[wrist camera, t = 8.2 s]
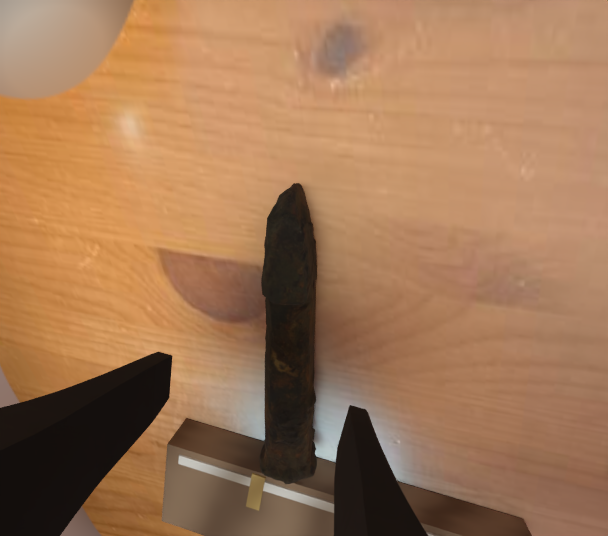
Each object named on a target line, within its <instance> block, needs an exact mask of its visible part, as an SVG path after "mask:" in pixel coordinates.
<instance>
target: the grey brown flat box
mask: <svg viewBox="0 0 608 536" xmlns="http://www.w3.org/2000/svg"><path fill="white" fill-rule="evenodd" d="M264 443H265V442H263V441H260V440H257V439H253V438H250V437H247V436H243V435H240V434H237V433H233V432H230V431H227V430H223V429H220V428H217V427H213V426H210V425H207V424H203V423H200V422H197V421H193V420H190V419H187V418H186V419H185V421H184V422H183V424H182V425H181V426H180V428H179V429H178V430H177V432H176V433H175V434H174V436H173V437H172V439H171V440H170V441H169V443H168V444H167V458H166V471H165V485H164V498H163V511H162V521H163V522H166V523H169V524H172V525H175V526H178V527H181V528H184V529H187V530H190V531H193V532H196V533H199V534H202V535H204V536H334V476H335V466H336V463H334V462H330V461H327V460H324V459H320V458H317V457H316V458H317V468H316V470H315V474H314V475H313V476H312V477H309V478H306V479H302V480H299V481H297V482H294V483H291V484H285V483H284V482H282V481H278V480H274V479H272V478H270V477H267V476H265V475H264V474H263V473H262V472H261V469H260V461H259V456H260V453H261V450H262V447H263V445H264ZM398 484H399V486H400V488H401V490H402V492H403V493H404V495H405V497H406V499H407V501H408V503H409V504H410V506H411V508H412V510H413V511H414V513H415V515H416V516H417V518H418V520H419V521H420V523H421V525H422V526H423V528H424V530H425V531H426V533H427V534H428V536H532V535H531V533H530V531H529V529H528V527H527V526H526V524H525V522H524V520H523V519H521V518H518V517H514V516H511V515H508V514H504V513H501V512H498V511H494V510H491V509H488V508H484V507H481V506H478V505H474V504H471V503H467V502H464V501H461V500H457V499H454V498H451V497H447V496H444V495H441V494H437V493H434V492H431V491H427V490H424V489H421V488H417V487H414V486H411V485H407V484H404V483H401V482H398Z"/></svg>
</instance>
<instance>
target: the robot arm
mask: <svg viewBox="0 0 608 536" xmlns="http://www.w3.org/2000/svg"><path fill="white" fill-rule="evenodd" d="M171 366H172V355H168V354H165V353H161V352H156V353H154V354H151V355H148V356H146V357H144V358H141V359H139V360H136V361H134V362H132V363H129V364H127V365H125V366H122V367H120V368H117V369H115V370H113V371H110V372H108V373H105V374H103V375H101V376H98V377H95V378H93V379H90V380H87V381H85V382H82V383H79V384H77V385H74V386H71V387H69V388H66V389H63V390H60V391H57V392H54V393H51V394H48V395H45V396H42V397H38V398H35V399H32V400H28V401H25V402H21V403H18V404H14V405H10V406H6V407H2V408H0V536H60V535H61V534H62V532H63V531H64V529H65V528H66V527H67V525H68V524H69V522H70V521H71V520H72V518H73V517H74V515H75V514H76V513H77V511H78V510H79V509H80V508H81V506H82V505H83V504H84V502H85V501H86V500H87V498H88V497H89V496H90V494H91V493H92V492H93V490H94V489H95V488H96V487H97V485H98V484H99V483H100V482H101V480H102V479H103V478H104V477H105V476H106V474H107V473H108V472H109V471H110V470H111V469H112V468H113V467H114V465H115V464H116V463H117V462H118V461H119V460H120V459H121V457H122V456H123V455H124V454H125V453H126V452H127V451H128V449H129V448H130V447H131V446H132V445H133V444H134V443H135V442H136V440H137V439H138V438H139V437H140V436H141V435H142V433H143V432H144V431H145V430H146V429H147V428H148V427H149V425H150V424H151V423H152V422H153V420H154V419H155V418H156V416H157V415H158V413H159V412H160V411H161V409H162V408H163V406H164V405H165V403H166V402H167V400H168V399H169V393H170V379H171ZM334 536H428V534H427V533H426V531H425V530H424V528H423V526H422V525H421V523H420V521H419V520H418V518H417V516H416V515H415V513H414V511H413V510H412V508H411V506H410V504H409V503H408V501H407V499H406V497H405V495H404V493H403V492H402V490H401V488H400V486H399V484H398V482H397V480H396V478H395V476H394V474H393V472H392V470H391V468H390V466H389V463H388V461H387V459H386V457H385V455H384V452H383V450H382V448H381V446H380V443H379V441H378V438H377V436H376V433H375V431H374V428H373V426H372V423H371V420H370V417H369V414H368V412H367V411H366V410H365V409H362V408H358V407H355V406H351V405H350V406H349V410H348V413H347V416H346V420H345V423H344V427H343V430H342V434H341V437H340V441H339V444H338V448H337V457H336V466H335V476H334Z"/></svg>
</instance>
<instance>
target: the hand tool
mask: <svg viewBox="0 0 608 536" xmlns="http://www.w3.org/2000/svg"><path fill="white" fill-rule="evenodd" d="M264 246H265V258H264V266H263V274H262V293H263V295H264V296H265V297H266V300H265V302H266V325H267V328H266V337H265V339H266V352H265V440H264V441H265V443H264V445H263V447H262V450H261V453H260V456H259V461H260V469H261V472H262V473H263V474H264V475H265V476H267V477H270V478H272V479H274V480H278V481H282V482H284V483H285V484H291V483H294V482H297V481H299V480H302V479H306V478H309V477H312V476H313V475H314V474H315V470H316V468H317V458H316V455H315V450H316V448H315V444H314V442H313V439H314V434H315V429H314V428H313V425H312V424H313V414H314V404H315V401H316V396H315V391H314V387H313V382H314V332H315V301H316V277H317V260H316V241H315V239H314V235H313V224H312V223H311V219H310V214H309V209H308V205H307V202H306V197H305V193H304V191H303V188H302V186H301V185H300V184H299V183H296V184H295V183H294V184H293V185H292V186H291V187H290V188H289V189H287V190H285V191H284V192H283V193H282V194H281V195H279V198H278V200H277V202H276V204H275V206H274V207H273V209H272V211H271V212H270V214H269V216H268V218H267V228H266V237H265V244H264Z"/></svg>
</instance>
